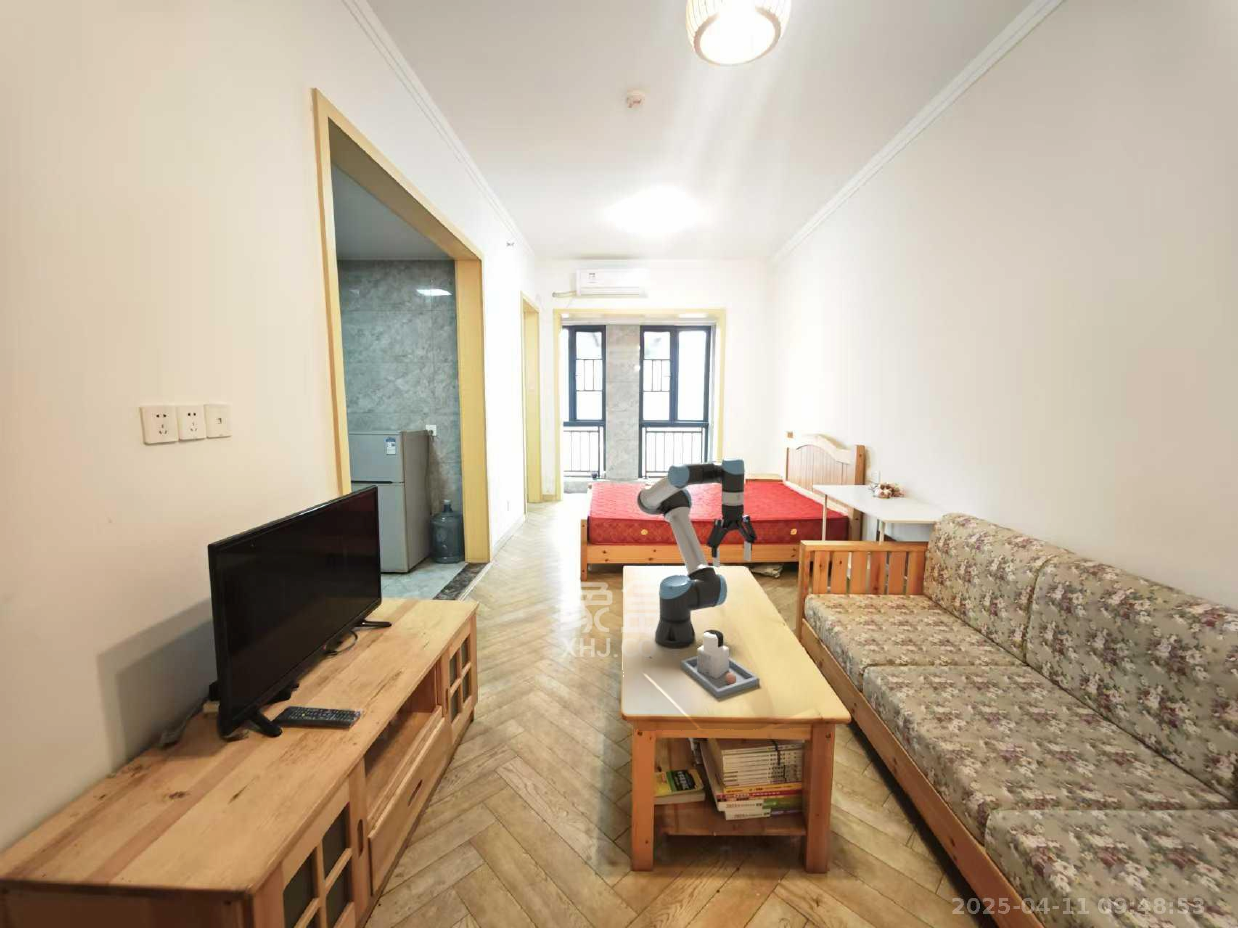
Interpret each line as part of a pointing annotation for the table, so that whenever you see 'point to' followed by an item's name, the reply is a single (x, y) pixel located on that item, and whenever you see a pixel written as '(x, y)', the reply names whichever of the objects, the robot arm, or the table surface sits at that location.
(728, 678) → the ball
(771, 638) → the table surface
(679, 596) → the robot arm
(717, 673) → the container
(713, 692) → the tray
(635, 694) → the table surface
